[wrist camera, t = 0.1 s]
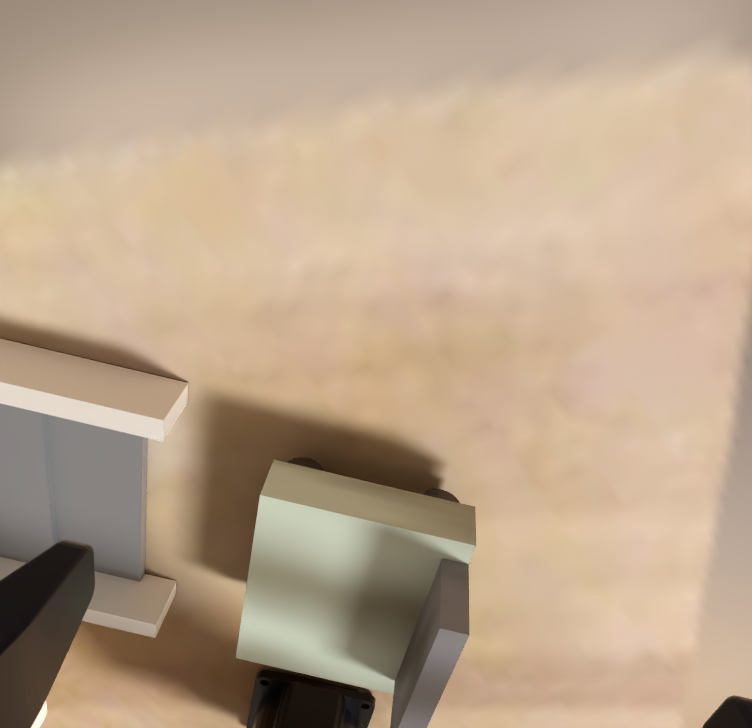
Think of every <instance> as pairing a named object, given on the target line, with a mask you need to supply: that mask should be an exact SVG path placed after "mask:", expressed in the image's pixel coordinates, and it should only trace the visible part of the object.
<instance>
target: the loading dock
mask: <svg viewBox="0 0 752 728" xmlns="http://www.w3.org/2000/svg"><path fill="white" fill-rule="evenodd" d="M188 384H189V383H186V382H182V381H178V380H174V379H170V378H165V377H161V376H157V375H153V374H148V373H144V372H140V371H136V370H132V369H127V368H123V367H119V366H115V365H110V364H106V363H102V362H98V361H94V360H89V359H85V358H81V357H77V356H72V355H68V354H64V353H60V352H56V351H51V350H47V349H43V348H39V347H34V346H30V345H26V344H22V343H18V342H13V341H9V340H5V339H1V338H0V580H1V579H3V578H4V577H6V576H7V575H9V574H10V573H12V572H13V571H15V570H16V569H18V568H19V567H21V566H22V565H24V564H25V563H27V562H28V561H30V560H31V559H33V558H34V557H36V556H37V555H39V554H40V553H42V552H43V551H45V550H46V549H48V548H49V547H51V546H52V545H54V544H55V543H57V542H59V541H62V540H71V541H75V542H80V543H84V544H88V545H90V546H91V547H92V548H93V550H94V563H95V589H94V593H93V596H92V599H91V602H90V604H89V606H88V608H87V611H86V613H85V615H84V617H83V619H82V621H84V622H89V623H93V624H97V625H101V626H106V627H110V628H114V629H119V630H123V631H127V632H132V633H136V634H140V635H145V636H149V637H153V638H156V636H157V634H158V631H159V629H160V627H161V625H162V623H163V621H164V618H165V616H166V614H167V612H168V610H169V608H170V605H171V603H172V601H173V599H174V597H175V595H176V581H174V580H169V579H165V578H161V577H157V576H152V575H148V574H145V534H146V485H147V438H149V439H154V440H158V441H162V442H163V440H164V439H165V437H166V436H167V434H168V433H169V431H170V429H171V428H172V426H173V425H174V423H175V422H176V420H177V419H178V417H179V415H180V414H181V412H182V411H183V409H184V408H185V406H186V405H187V400H188Z"/></svg>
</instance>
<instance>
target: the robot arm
mask: <svg viewBox="0 0 752 728" xmlns="http://www.w3.org/2000/svg"><path fill="white" fill-rule="evenodd" d="M94 589H95V563H94V550H93V548H92V547H91V546H90V545H88V544H84V543H80V542H75V541H71V540H62V541H59V542H57V543H55V544H54V545H52V546H51V547H49V548H48V549H46V550H45V551H43V552H42V553H40V554H39V555H37V556H36V557H34V558H33V559H31V560H30V561H28V562H27V563H25V564H24V565H22V566H21V567H19V568H18V569H16V570H15V571H13V572H12V573H10V574H9V575H7V576H6V577H4V578H3V579H1V580H0V728H31V727H32V725H33V723H34V721H35V719H36V718H37V716H38V714H39V712H40V710H41V708H42V706H43V704H44V702H45V700H46V698H47V696H48V694H49V692H50V690H51V687H52V685H53V683H54V681H55V679H56V676H57V674H58V672H59V670H60V668H61V665H62V663H63V661H64V659H65V657H66V654H67V652H68V650H69V648H70V646H71V643H72V641H73V639H74V637H75V635H76V632H77V630H78V628H79V626H80V624H81V621H82V619H83V617H84V615H85V613H86V611H87V608H88V606H89V604H90V602H91V599H92V596H93V593H94ZM374 708H375V698H374V697H373V696H372V695H370V694H366V693H362V692H357V691H353V690H349V689H345V688H340V687H336V686H332V685H327V684H323V683H319V682H314V681H310V680H306V679H301V678H297V677H293V676H289V675H284V674H280V673H276V672H271V671H266V670H262V671H259V672H258V674H257V677H256V680H255V685H254V691H253V696H252V702H251V707H250V713H249V718H248V724H247V728H367V727H368V724H369V722H370V719H371V716H372V714H373V711H374ZM703 728H752V699H748V698H744V697H740V696H731V697H728V698H727V699H726V700H725V701H724V702H723V703H722V704H721V705H720V707H719V708H718V709H717V710H716V711H715V712H714V713H713V714H712V716H711V717H710V718H709V719H708V720H707V721H706V722H705V724H704V725H703Z"/></svg>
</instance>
